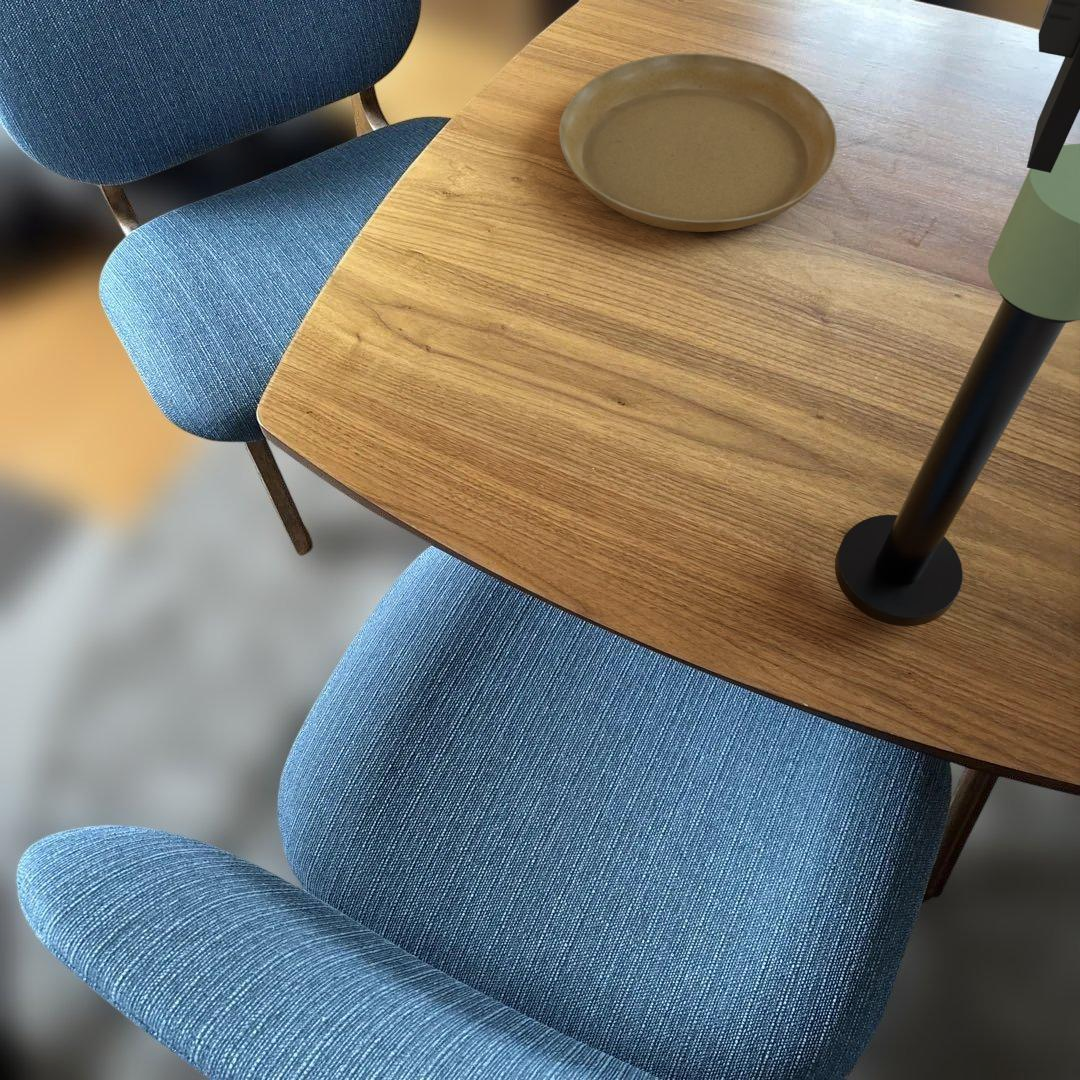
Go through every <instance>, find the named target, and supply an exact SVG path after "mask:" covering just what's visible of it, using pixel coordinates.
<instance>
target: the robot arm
mask: <svg viewBox="0 0 1080 1080" xmlns="http://www.w3.org/2000/svg"><path fill="white" fill-rule="evenodd" d="M1043 11H1044V12H1043V16H1042V19H1041V23H1040V27H1039V31H1038V52H1039V53H1041V54H1042V53H1043V54H1049V55H1054V56H1059V57H1063V61H1062V63H1061V65H1060V68H1059V69H1058V72H1057V74H1056V77H1055V79H1054V82H1053V84H1052V87H1051V89H1050V91H1049V93H1048V96H1047V98H1046V101H1045V102H1044V105H1043V107H1042V110H1041V112H1040V115H1039V117H1038V119H1037V122H1036V126H1035V130H1034V133H1033V134H1034V135H1033V139H1032V143H1031V146H1030V152H1029V155H1028V160H1027V165H1026V168H1027V169H1029V170H1030V169H1035V170H1039V171H1044V172H1049V173H1051V171H1052V169H1053V167H1054V165H1055V162H1056V160H1057V158H1058V156H1059V154H1060V152H1061V149H1062V147H1063V145H1065V143H1066V140H1067V138H1068V137H1069V134H1070V132H1071V130H1072V128H1073V125H1074V123H1075V121H1076V119H1077V117H1078V114H1079V113H1080V0H1048V1H1047V3H1046V6H1045V8H1044V10H1043Z"/></svg>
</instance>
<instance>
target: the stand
mask: <svg viewBox="0 0 1080 1080" xmlns="http://www.w3.org/2000/svg"><path fill="white" fill-rule="evenodd" d="M999 295H1000V297H1001V298H1002V301H1001V303H1000V305H999V306H998V309H997V311H996V313H995V315H994V317H993V319H992V321H991V323H990V325H989V327H988V328H987V331H986V333H985V336H984V338H983V340H982V341H981V344H980V346H979V348H978V349H977V352H976V353H975V356H974V359H973V360H972V362H971V364H970V366H969V369H967V370H968V371H967V373H966V375H965V376H964V379H963V381H962V383H961V385H960V386H959V389H958V390H957V393H956V395H955V397H954V399H953V401H952V403H951V405H950V407H949V408H948V412H947V414H946V415H945V417H944V420H943V422H942V423H941V426H940V428H939V429H938V432H937V434H936V436H935V438H934V440H933V442H932V445H931V447H930V449H929V450H928V453H927V454H926V457H925V459H924V461H923V463H922V465H921V467H920V468H919V471H918V473H917V475H916V477H915V478H914V481H913V484H912V485H911V488H910V490H909V492H908V494H907V496H906V498H905V501H904V502H903V504H902V506H901V508H900V510H899V512H898V514H881V515H874V516H871V517H867V518H866V519H862V520H861V521H859V522H858V523H856V524H854V525H853V526H852V527H851V528H850V529H849V530H848V531H847V532H846V534H844V537H843V538H842V540H841V542H840V545H839V547H838V550H837V552H836V555H835V558H834V559H835V560H834V574H835V578H836V580H837V583H838V586H839V588H840V590H841V592H842V593H843V595H844V596H845V598H846V599H847V600H848V601H849V602H850V603H851V604H852V605H853V606H854V607H855V608H856V609H857V610H858V611H860V612H861V613H863V614H864V615H865V616H867V617H869V618H870V619H873V620H875V621H877V622H880V623H882V624H883V623H884V624H886V625H890V626H896V627H918V626H922V625H925V624H928V623H929V624H930V623H931V622H934V621H936V620H938V619H939V618H940V617H942V616H943V615H944V614H946V612H947V611H949V609H950V608H951V606H952V605H953V603H954V602H955V600H956V599H957V597H958V595H959V593H960V591H961V589H962V586H963V582H964V581H963V580H964V572H963V566H962V562H961V558H960V557H959V554H958V553H957V550H956V549H955V547H954V546H953V544H952V543H951V542H950V541H949V540H948V539H947V538H946V534H947V532H948V531H949V529H950V527H951V526H952V524H953V522H954V521H955V518H956V517H957V515H958V513H959V511H960V509H961V508H962V506H963V504H964V502H965V501H966V499H967V497H968V495H969V494H970V492H971V490H972V488H973V486H975V483H976V481H977V480H978V478H979V476H980V474H981V473H982V470H983V469H984V468H985V466H986V464H987V462H988V460H989V459H990V457H991V455H992V453H993V452H994V450H995V449H996V447H997V445H998V443H999V442H1000V440H1001V438H1002V436H1003V434H1004V432H1005V430H1006V429H1007V427H1008V426H1009V424H1010V422H1011V420H1012V419H1013V416H1014V415H1015V413H1016V411H1017V410H1018V408H1019V406H1020V404H1021V402H1022V401H1023V399H1024V397H1025V395H1026V394H1027V392H1028V390H1029V389H1030V387H1031V385H1032V384H1033V381H1034V380H1035V378H1036V376H1037V374H1038V373H1039V371H1040V370H1041V367H1042V366H1043V364H1044V362H1045V360H1046V359H1047V357H1048V355H1049V354H1050V351H1051V350H1052V348H1053V346H1054V345H1055V343H1056V341H1057V339H1058V338H1059V336H1060V334H1061V332H1062V331H1063V329H1064V327H1065V325H1066V324H1067V323H1072V322H1076V321H1077V320H1069V321H1067V320H1054V319H1048V318H1044V317H1040V316H1037V315H1034V314H1031V313H1029V312H1026V311H1024V310H1022V309H1020V308H1018V307H1017V306H1015V305H1013V304H1012V303H1011V302H1009V301H1008V300H1007V299H1005V298H1004V297H1003V296H1002V295H1001V294H1000V293H999Z"/></svg>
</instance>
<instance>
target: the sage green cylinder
mask: <svg viewBox="0 0 1080 1080" xmlns="http://www.w3.org/2000/svg"><path fill="white" fill-rule="evenodd" d="M987 269H988V275H989V279H990V281H991V283H992V285H993V286H994V288H995V290H997V292H998V294H999V295H1000V294H1001V295H1002V296H1003V297H1004V298H1005V299H1007V300H1008V301H1009V302H1011V303H1012V304H1013V305H1015V306H1017V307H1018V308H1020V309H1022V310H1024V311H1026V312H1029V313H1031V314H1034V315H1037V316H1040V317H1044V318H1048V319H1054V320H1067V321H1069V320H1076V321H1078V320H1079V321H1080V143H1069V144H1064V145H1063V147H1062V149H1061V152H1060V154H1059V156H1058V158H1057V160H1056V162H1055V165H1054V167H1053V169H1052V171H1051V173H1049V172H1044V171H1039V170H1035V169H1030V168H1029V170H1028V172H1027V173H1026V176H1025V179H1024V181H1023V183H1022V185H1021V188H1020V189H1019V191H1018V194H1017V197H1016V198H1015V201H1014V203H1013V205H1012V208H1011V210H1010V211H1009V213H1008V216H1007V218H1006V220H1005V223H1004V225H1003V227H1002V230H1001V232H1000V234H999V237H998V238H997V241H996V243H995V245H994V247H993V249H992V252H991V253H990V256H989V259H988V264H987ZM1001 295H1000V296H1001Z"/></svg>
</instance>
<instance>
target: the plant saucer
mask: <svg viewBox="0 0 1080 1080" xmlns="http://www.w3.org/2000/svg"><path fill="white" fill-rule="evenodd" d="M558 138H559V145H560V149H561V152H562V154H563V157H564V159H565V162H566V163H567V166H568V167H569V169H570V170H571V172H572V173H573V175H574V176H575V177H576V179H577V180H578V182H579V183H580V184H581V185H582V186H583V187H584V188H585V189H586V190H587V191H588V192H589V193H590V195H593V196H594V197H595V198H596V199H597V200H599V201H600V202H601V203H603V204H604V205H605V206H607V207H608V208H610V209H612V210H614V211H616V212H618V213H619V214H622V215H624V216H625V217H628V218H630V219H632V220H635V221H638V222H640V223H643V224H646V225H650V226H653V227H657V228H662V229H666V230H673V231H680V232H697V233H706V232H709V233H710V232H720V231H730V230H737V229H741V228H745V227H749V226H753V225H756V224H759V223H762V222H765V221H767V220H769V219H772V218H774V217H776V216H778V215H780V214H783V213H784V212H786V211H788V210H790V209H791V208H792V207H794V206H796V205H797V204H798V203H800V202H801V201H802V200H804V199H805V198H806V197H807V196H809V194H811V193H812V192H813V190H815V189H816V188H817V187H818V186H819V184H820V183H821V182H822V181H823V180H824V178H825V177H826V176H827V174H828V172H829V171H830V169H831V167H832V166H833V162H834V160H835V158H836V153H837V149H838V136H837V131H836V127H835V124H834V121H833V118H832V116H831V114H830V112H829V111H828V109H826V107H825V106H824V104H823V103H822V102H821V101H820V100H819V98H818V97H817V96H816V95H815V94H814V93H813V92H812V91H811V90H809V89H808V88H807V87H806V86H804V85H803V84H801V83H800V82H799V81H797V80H795V79H794V78H792V77H790V76H789V75H786V74H784V73H783V72H780V71H778V70H776V69H774V68H772V67H769V66H767V65H764V64H760V63H757V62H755V61H751V60H747V59H743V58H738V57H733V56H728V55H721V54H713V53H698V52H697V53H696V52H695V53H694V52H693V53H690V52H688V53H669V54H661V55H654V56H648V57H644V58H640V59H636V60H632V61H628V62H626V63H623V64H620V65H617V66H615V67H613V68H611V69H608V70H606V71H604V72H603V73H601V74H599V75H598V76H595V77H594V78H592V79H591V80H590V81H589V82H587V83H586V84H585V85H584V86H582V87H581V88H580V89H579V90H578V91H577V92H576V93H575V94H574V95H573V96H572V98H571V99H570V101H568V104H567V105H566V107H565V109H564V111H563V112H562V115H561V118H560V122H559V130H558Z"/></svg>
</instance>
